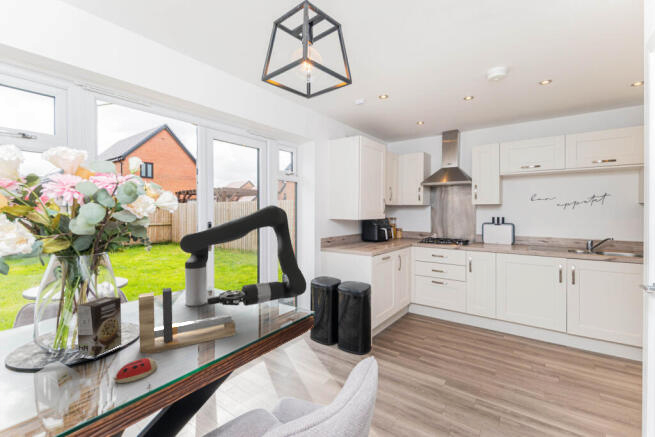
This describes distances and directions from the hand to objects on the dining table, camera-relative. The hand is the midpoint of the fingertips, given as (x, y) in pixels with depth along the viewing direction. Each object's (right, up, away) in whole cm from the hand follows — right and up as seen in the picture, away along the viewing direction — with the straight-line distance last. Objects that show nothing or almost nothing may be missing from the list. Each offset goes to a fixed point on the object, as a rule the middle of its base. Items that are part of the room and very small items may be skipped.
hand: (207, 301), depth 102 cm
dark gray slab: (-11, -10, -6) cm, 16 cm away
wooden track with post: (-4, -12, -2) cm, 13 cm away
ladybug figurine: (-9, -13, -24) cm, 29 cm away
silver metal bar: (-4, -9, -2) cm, 10 cm away
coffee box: (-28, -13, -12) cm, 33 cm away
